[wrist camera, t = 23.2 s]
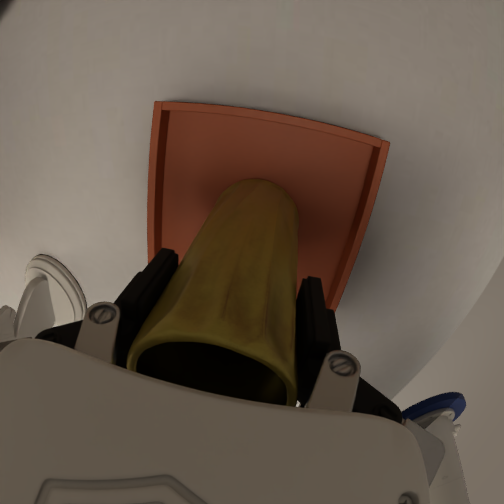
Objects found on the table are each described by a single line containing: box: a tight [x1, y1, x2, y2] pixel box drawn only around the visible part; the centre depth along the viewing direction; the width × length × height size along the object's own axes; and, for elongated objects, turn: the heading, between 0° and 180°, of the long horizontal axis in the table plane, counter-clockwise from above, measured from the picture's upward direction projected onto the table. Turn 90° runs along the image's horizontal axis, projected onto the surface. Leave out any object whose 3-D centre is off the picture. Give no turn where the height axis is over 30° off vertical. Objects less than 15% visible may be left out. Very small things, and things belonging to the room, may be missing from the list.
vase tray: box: [147, 101, 390, 314], centre depth 19 cm, size 15×15×2 cm
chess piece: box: [0, 255, 87, 342], centre depth 20 cm, size 10×10×15 cm
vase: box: [127, 179, 299, 407], centre depth 14 cm, size 6×6×14 cm
